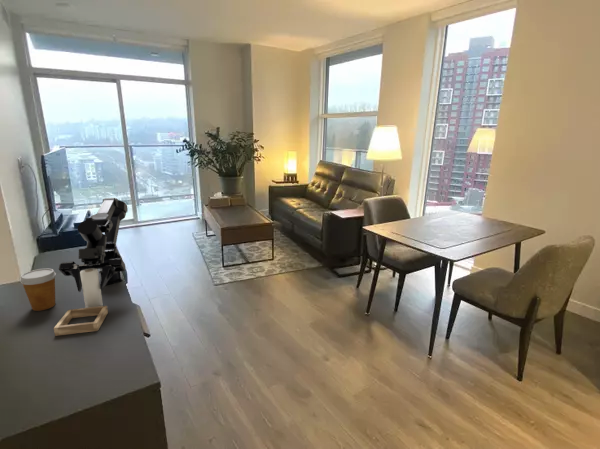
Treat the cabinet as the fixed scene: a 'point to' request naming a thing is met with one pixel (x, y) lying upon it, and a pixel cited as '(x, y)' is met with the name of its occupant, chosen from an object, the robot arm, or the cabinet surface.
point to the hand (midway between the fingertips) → (90, 290)
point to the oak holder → (82, 327)
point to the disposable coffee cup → (40, 288)
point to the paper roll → (91, 287)
